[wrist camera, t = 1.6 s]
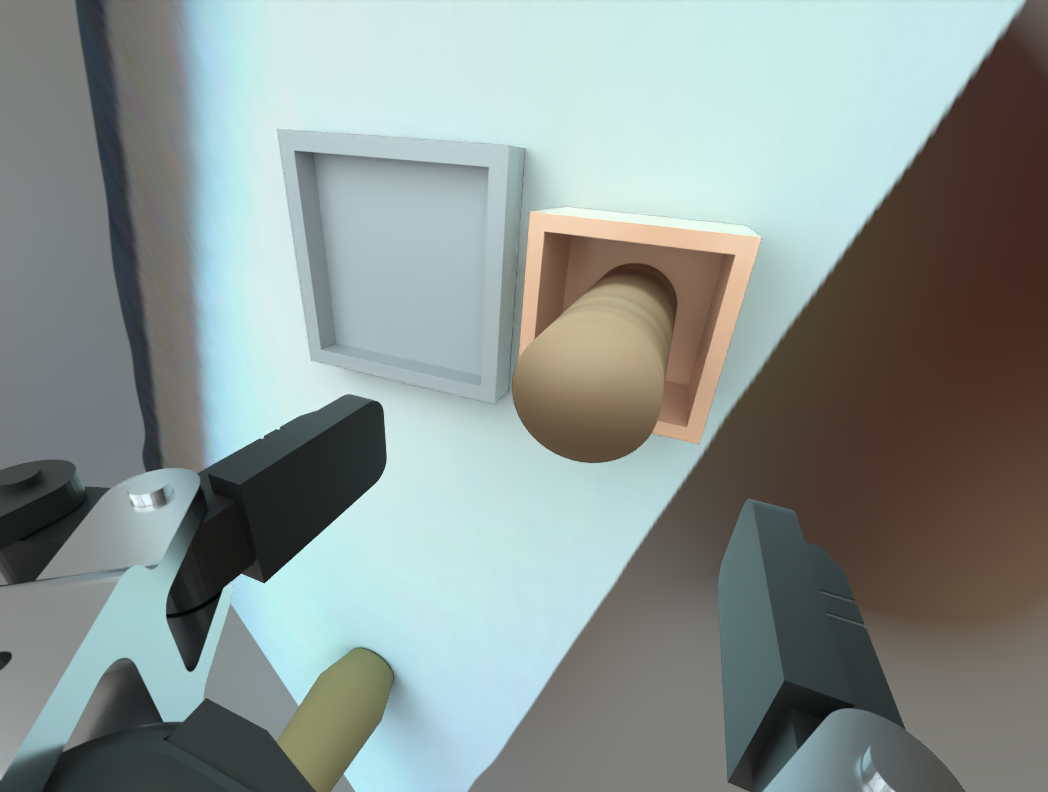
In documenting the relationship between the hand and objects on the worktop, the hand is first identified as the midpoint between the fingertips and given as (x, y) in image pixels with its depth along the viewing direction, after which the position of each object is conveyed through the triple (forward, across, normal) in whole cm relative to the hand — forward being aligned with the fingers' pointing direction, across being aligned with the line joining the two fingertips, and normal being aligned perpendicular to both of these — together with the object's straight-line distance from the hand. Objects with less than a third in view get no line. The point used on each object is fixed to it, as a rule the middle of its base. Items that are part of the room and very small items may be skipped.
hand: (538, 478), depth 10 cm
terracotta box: (+17, 0, 0) cm, 17 cm away
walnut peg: (+16, 0, 0) cm, 16 cm away
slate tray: (+17, +14, 0) cm, 22 cm away
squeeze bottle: (+18, +21, +45) cm, 53 cm away
